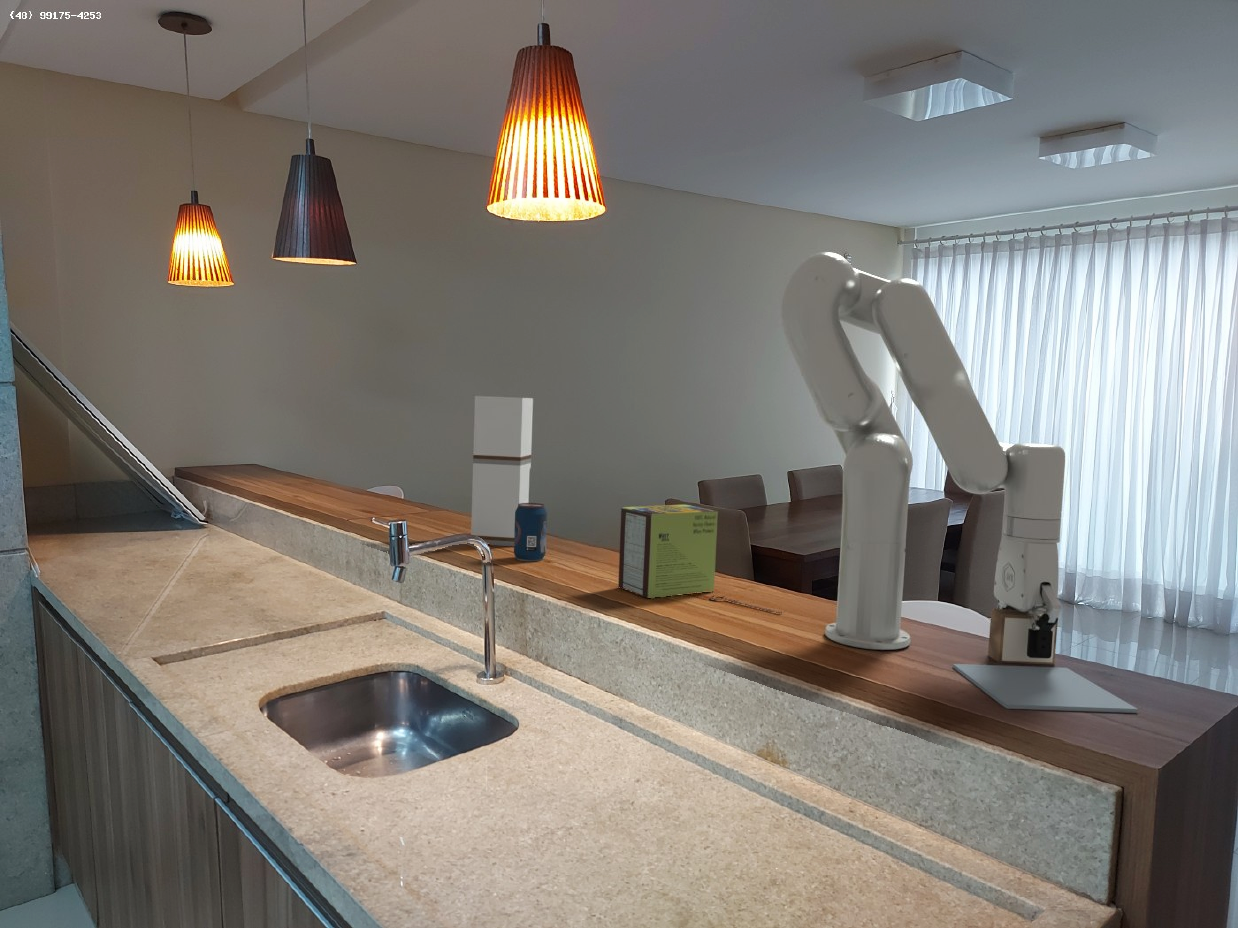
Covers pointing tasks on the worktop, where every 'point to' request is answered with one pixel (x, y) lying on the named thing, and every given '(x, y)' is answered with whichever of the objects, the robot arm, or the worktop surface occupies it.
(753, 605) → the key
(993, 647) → the wooden block
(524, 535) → the soda can
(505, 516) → the banded white tower
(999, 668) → the rubber mat
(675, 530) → the protein box
